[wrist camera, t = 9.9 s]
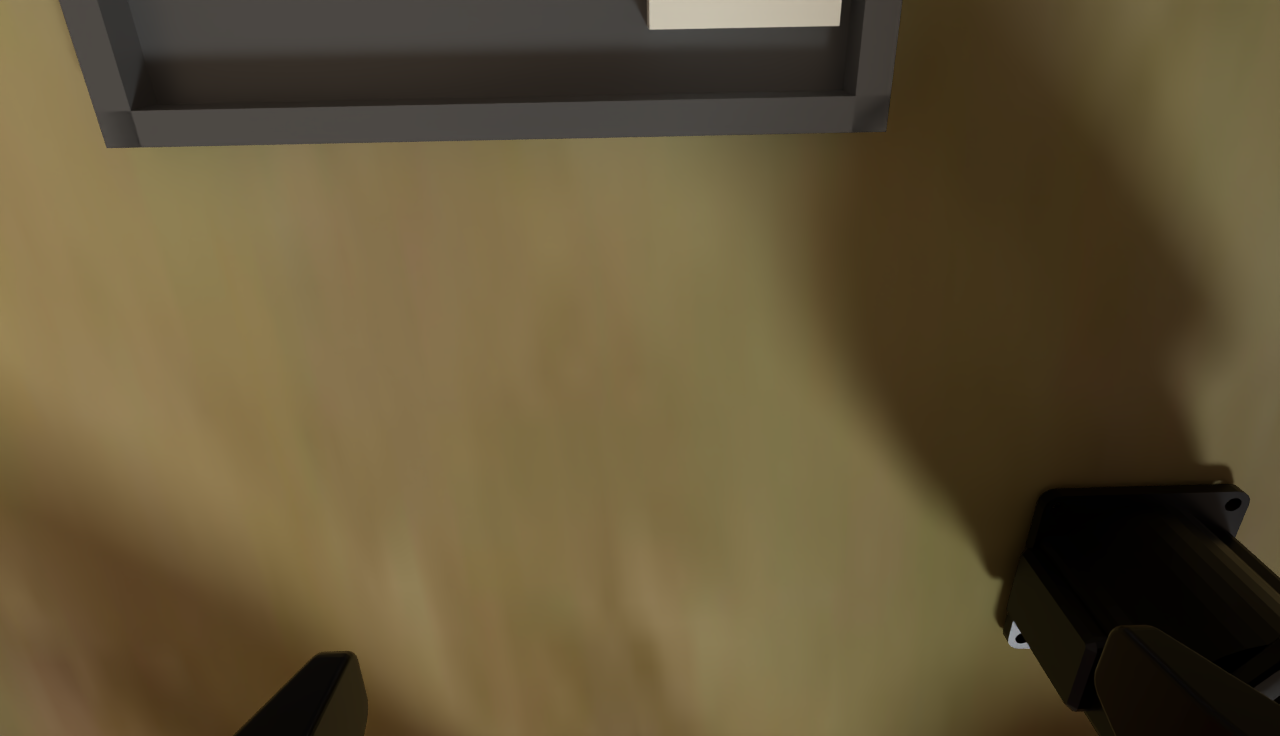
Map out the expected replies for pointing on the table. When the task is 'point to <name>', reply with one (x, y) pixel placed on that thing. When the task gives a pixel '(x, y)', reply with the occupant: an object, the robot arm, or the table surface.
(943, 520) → the table surface
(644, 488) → the table surface
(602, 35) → the condiment tray
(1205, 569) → the robot arm
